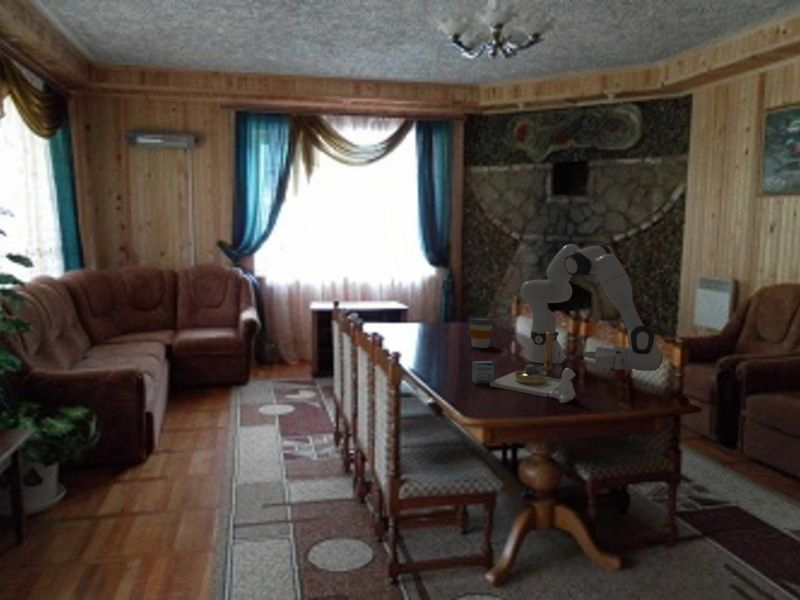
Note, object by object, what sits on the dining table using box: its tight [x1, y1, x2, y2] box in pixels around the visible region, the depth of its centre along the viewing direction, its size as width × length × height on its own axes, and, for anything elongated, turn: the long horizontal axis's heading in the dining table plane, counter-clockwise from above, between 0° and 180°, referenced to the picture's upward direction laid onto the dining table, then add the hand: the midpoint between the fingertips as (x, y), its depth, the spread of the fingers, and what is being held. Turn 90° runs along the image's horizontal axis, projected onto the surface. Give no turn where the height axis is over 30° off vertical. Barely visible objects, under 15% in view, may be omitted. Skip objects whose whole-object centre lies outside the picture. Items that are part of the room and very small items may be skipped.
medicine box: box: [471, 360, 495, 385], centre depth 250 cm, size 8×4×9 cm, turn 105°
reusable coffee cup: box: [469, 316, 494, 349], centre depth 323 cm, size 13×13×15 cm
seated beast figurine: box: [548, 367, 577, 404], centre depth 229 cm, size 10×9×12 cm
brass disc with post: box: [514, 332, 554, 385], centre depth 250 cm, size 22×12×18 cm, turn 137°
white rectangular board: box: [489, 364, 562, 398], centre depth 248 cm, size 24×24×8 cm
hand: (583, 354), depth 253 cm, fingers closed
